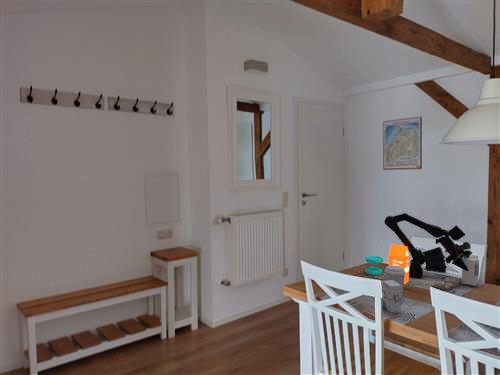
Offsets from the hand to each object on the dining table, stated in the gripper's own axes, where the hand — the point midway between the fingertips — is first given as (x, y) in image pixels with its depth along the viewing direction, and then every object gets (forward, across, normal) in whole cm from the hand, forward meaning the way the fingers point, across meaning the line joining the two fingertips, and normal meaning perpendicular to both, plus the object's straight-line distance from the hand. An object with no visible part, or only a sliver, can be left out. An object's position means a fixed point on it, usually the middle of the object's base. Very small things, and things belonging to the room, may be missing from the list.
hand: (470, 270), depth 195 cm
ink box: (+4, -63, +8) cm, 64 cm away
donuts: (-25, -22, +37) cm, 50 cm away
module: (+5, 0, +5) cm, 7 cm away
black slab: (-13, +14, +25) cm, 32 cm away
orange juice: (-12, -23, +25) cm, 36 cm away
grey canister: (-1, -51, +13) cm, 53 cm away
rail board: (+2, -13, +10) cm, 17 cm away
